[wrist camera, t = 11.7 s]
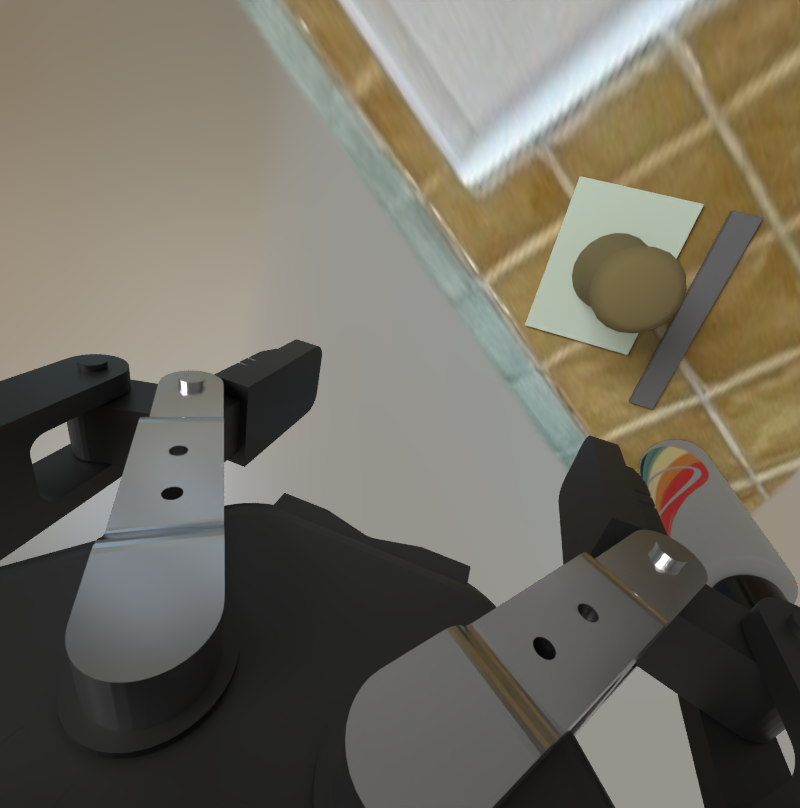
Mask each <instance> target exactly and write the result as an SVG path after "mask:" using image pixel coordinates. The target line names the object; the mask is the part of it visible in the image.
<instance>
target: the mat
mask: <svg viewBox="0 0 800 808" xmlns="http://www.w3.org/2000/svg"><path fill="white" fill-rule="evenodd" d="M703 206H704V204H700V203H696V202H691V201H687V200H683V199H678V198H674V197H669V196H665V195H661V194H656V193H652V192H647V191H643V190H639V189H634V188H630V187H625V186H621V185H616V184H612V183H608V182H603V181H599V180H594V179H590V178H586V177H581V176H580V177H579V180H578V183H577V185H576V188H575V191H574V193H573V196H572V199H571V202H570V204H569V207H568V210H567V212H566V215H565V218H564V220H563V223H562V226H561V229H560V231H559V234H558V237H557V239H556V242H555V245H554V247H553V250H552V253H551V256H550V258H549V261H548V264H547V266H546V269H545V272H544V275H543V277H542V280H541V283H540V285H539V288H538V291H537V293H536V296H535V299H534V302H533V304H532V307H531V310H530V312H529V315H528V318H527V320H526V323H525V325H526V326H530V327H533V328H537V329H540V330H543V331H547V332H550V333H554V334H557V335H561V336H564V337H568V338H571V339H574V340H578V341H581V342H585V343H588V344H592V345H595V346H598V347H602V348H605V349H609V350H612V351H616V352H619V353H622V354H626V355H628V353H629V351H630V349H631V347H632V345H633V343H634V341H635V339H636V337H637V335H638V333H635V334H634V333H623V332H617V331H615V330H612V329H610V328H608V327H606V326H605V325H604V324H603V323H602V322H600V321H599V320H598V319H597V317H596V315H595V313H594V311H593V309H592V307H590V306H588V305H586V304H585V303H584V302H583V301H582V300H581V299H579V298H578V296H577V294H576V292H575V290H574V288H573V283H572V272H573V267H574V263H575V262H576V260H577V258H578V256H579V254H580V253H581V252H582V251H583V250H584V249H585V248H586V247H587V245H588V244H589V243H591V242H593V241H594V240H596V239H598V238H600V237H601V236H605V235H609V234H613V233H627V234H630V235H633V236H635V237H638V238H640V239H641V240H642V241H643V242H644V243H645V244H646V245H647V246H648V247H657V248H659V249H662V250H664V251H667V252H669V253H671V254H672V255H673V256H674V257H675V258H676V259H677V257H678V255H679V253H680V251H681V249H682V247H683V245H684V243H685V241H686V239H687V237H688V235H689V233H690V231H691V229H692V227H693V225H694V223H695V221H696V219H697V217H698V215H699V213H700V211H701V209H702V208H703Z"/></svg>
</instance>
